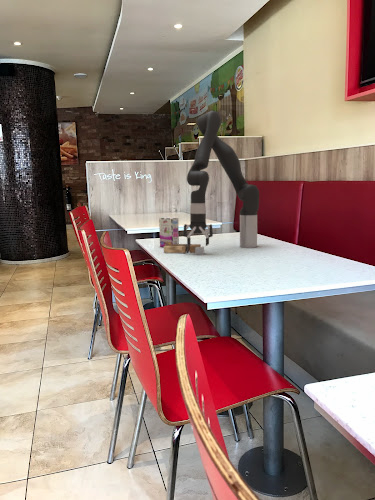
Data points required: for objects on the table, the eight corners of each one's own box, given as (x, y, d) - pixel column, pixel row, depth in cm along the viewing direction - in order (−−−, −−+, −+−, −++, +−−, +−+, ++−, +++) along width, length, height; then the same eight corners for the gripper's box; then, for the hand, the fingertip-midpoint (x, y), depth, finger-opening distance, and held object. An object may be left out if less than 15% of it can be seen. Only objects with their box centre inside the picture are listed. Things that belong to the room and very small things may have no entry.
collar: (196, 253, 213) (195, 246, 213) (204, 253, 213) (204, 246, 212) (195, 255, 209) (195, 247, 209) (203, 255, 209) (203, 247, 208)
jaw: (186, 251, 217) (185, 245, 216) (185, 252, 214) (185, 246, 214) (164, 251, 218) (164, 245, 218) (163, 252, 216) (163, 246, 215)
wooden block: (166, 250, 224) (166, 242, 223) (200, 250, 221) (200, 242, 220) (163, 253, 216) (163, 244, 216) (199, 253, 214) (199, 244, 213)
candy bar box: (179, 247, 233) (178, 217, 230) (172, 249, 229) (171, 218, 227) (166, 246, 241) (165, 216, 238) (159, 247, 238) (158, 217, 235)
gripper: (182, 212, 206) (182, 246, 208) (211, 213, 204) (211, 246, 206) (184, 212, 213) (185, 244, 215) (213, 212, 211) (213, 244, 213)
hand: (198, 245), depth 211 cm, fingers open, 8 cm apart
